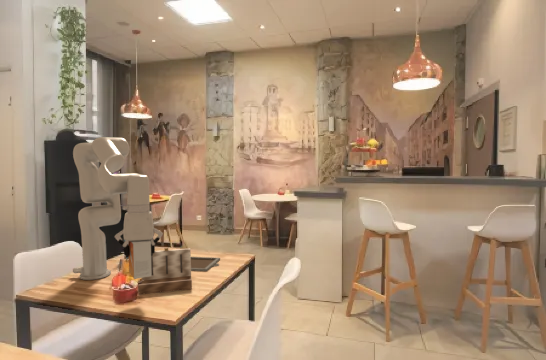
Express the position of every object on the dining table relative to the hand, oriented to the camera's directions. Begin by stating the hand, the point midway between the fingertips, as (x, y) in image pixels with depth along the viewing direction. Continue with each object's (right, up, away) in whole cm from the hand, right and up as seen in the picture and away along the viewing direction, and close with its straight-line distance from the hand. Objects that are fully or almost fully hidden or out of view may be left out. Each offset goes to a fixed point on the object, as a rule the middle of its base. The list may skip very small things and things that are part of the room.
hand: (139, 255), depth 126 cm
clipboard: (+8, -15, +45) cm, 48 cm away
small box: (0, -7, +1) cm, 7 cm away
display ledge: (+5, -16, +15) cm, 22 cm away
